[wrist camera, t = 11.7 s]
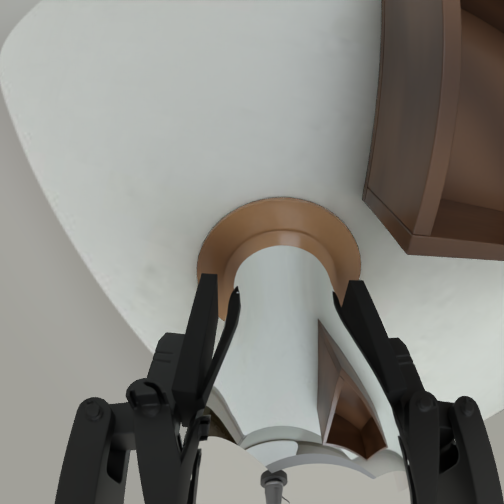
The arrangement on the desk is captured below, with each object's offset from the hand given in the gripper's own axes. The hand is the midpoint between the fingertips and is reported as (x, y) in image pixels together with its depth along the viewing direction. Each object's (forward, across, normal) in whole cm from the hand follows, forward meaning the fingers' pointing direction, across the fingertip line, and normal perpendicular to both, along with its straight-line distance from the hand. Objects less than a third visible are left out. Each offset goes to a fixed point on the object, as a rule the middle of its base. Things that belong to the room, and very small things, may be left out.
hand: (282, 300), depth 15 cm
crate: (+2, +12, +11) cm, 16 cm away
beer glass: (+2, 0, 0) cm, 2 cm away
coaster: (+2, 0, 0) cm, 2 cm away
